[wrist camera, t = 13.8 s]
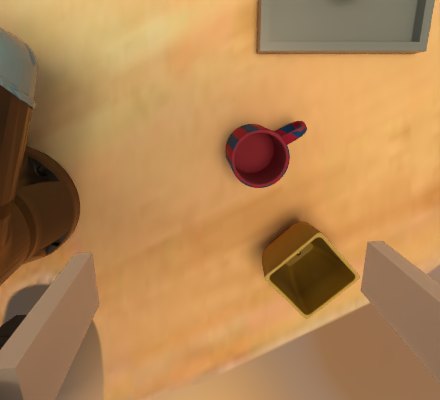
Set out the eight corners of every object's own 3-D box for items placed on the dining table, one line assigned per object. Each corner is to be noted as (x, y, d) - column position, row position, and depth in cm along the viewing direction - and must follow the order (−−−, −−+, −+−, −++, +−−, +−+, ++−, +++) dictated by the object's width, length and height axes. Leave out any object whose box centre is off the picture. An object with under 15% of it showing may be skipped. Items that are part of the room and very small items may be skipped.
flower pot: (332, 246, 48) (362, 278, 39) (287, 282, 49) (307, 321, 41) (296, 205, 46) (320, 231, 37) (250, 245, 47) (262, 278, 38)
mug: (216, 138, 42) (220, 146, 35) (286, 103, 41) (303, 104, 35) (238, 182, 44) (246, 197, 37) (305, 149, 43) (324, 158, 37)
